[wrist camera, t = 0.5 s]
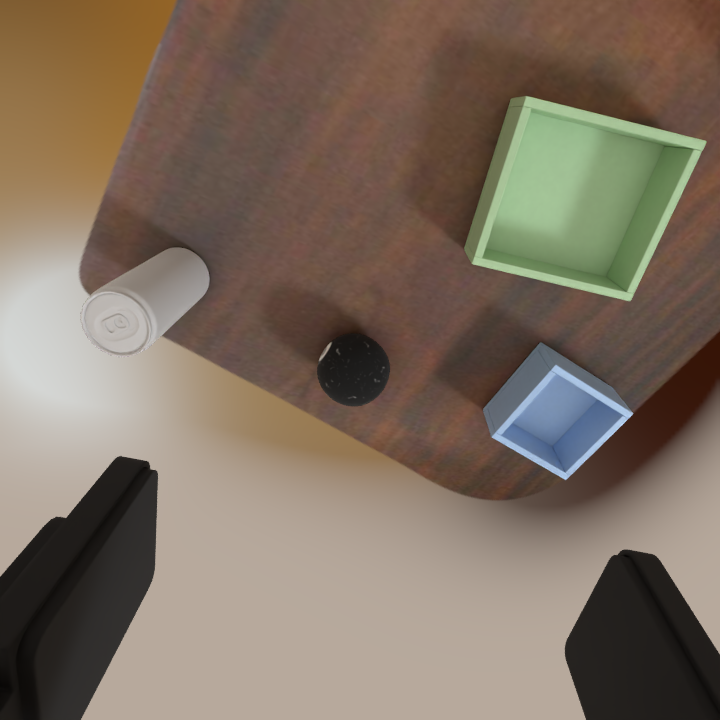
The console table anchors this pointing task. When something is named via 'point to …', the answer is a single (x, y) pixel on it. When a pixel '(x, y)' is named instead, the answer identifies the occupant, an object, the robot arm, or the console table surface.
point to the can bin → (554, 412)
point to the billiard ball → (353, 369)
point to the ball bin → (578, 197)
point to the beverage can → (144, 302)
